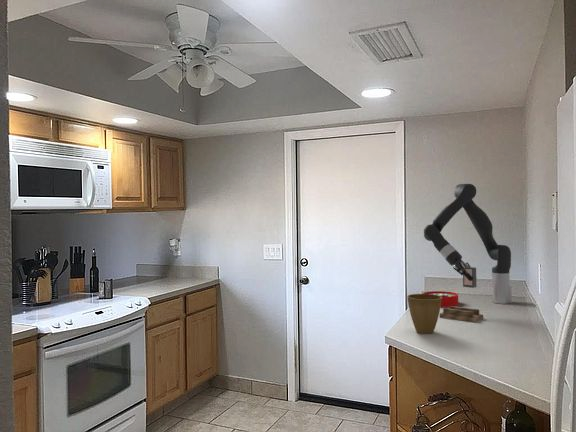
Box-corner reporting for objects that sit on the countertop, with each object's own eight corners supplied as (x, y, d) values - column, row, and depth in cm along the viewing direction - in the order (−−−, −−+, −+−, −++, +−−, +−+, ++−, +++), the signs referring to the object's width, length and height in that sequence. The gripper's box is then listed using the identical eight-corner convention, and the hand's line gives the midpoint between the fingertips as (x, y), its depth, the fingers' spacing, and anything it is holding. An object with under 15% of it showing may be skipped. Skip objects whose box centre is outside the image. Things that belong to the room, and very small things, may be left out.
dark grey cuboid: (463, 286, 245) (462, 267, 245) (466, 285, 248) (465, 266, 248) (473, 287, 241) (473, 268, 241) (476, 286, 244) (476, 267, 244)
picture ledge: (439, 317, 239) (439, 308, 239) (449, 313, 246) (448, 305, 246) (474, 322, 226) (474, 313, 226) (483, 318, 233) (483, 309, 233)
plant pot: (417, 337, 203) (416, 300, 203) (402, 329, 217) (401, 294, 217) (449, 334, 206) (448, 298, 206) (432, 326, 220) (431, 292, 220)
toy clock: (426, 297, 265) (418, 291, 285) (426, 307, 265) (419, 301, 285) (462, 296, 264) (452, 290, 283) (462, 307, 264) (453, 300, 283)
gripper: (449, 250, 245) (472, 276, 236) (461, 249, 255) (484, 273, 246) (439, 260, 249) (462, 285, 240) (452, 258, 258) (474, 282, 250)
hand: (473, 279), depth 243 cm, fingers closed on dark grey cuboid, 3 cm apart
